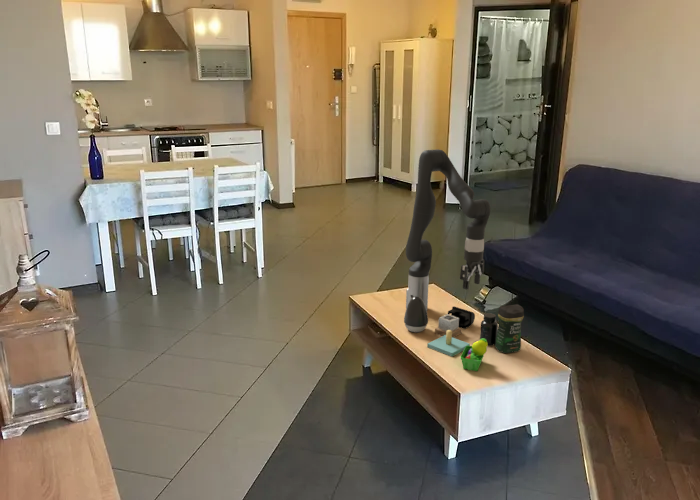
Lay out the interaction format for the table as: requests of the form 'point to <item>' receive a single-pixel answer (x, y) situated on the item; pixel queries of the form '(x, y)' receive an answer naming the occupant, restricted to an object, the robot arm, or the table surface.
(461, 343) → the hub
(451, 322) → the collar
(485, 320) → the supplement bottle
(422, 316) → the dark grey rounded cone
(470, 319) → the end cap
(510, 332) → the coffee jar
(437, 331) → the stand
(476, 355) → the fruit basket
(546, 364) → the table surface
